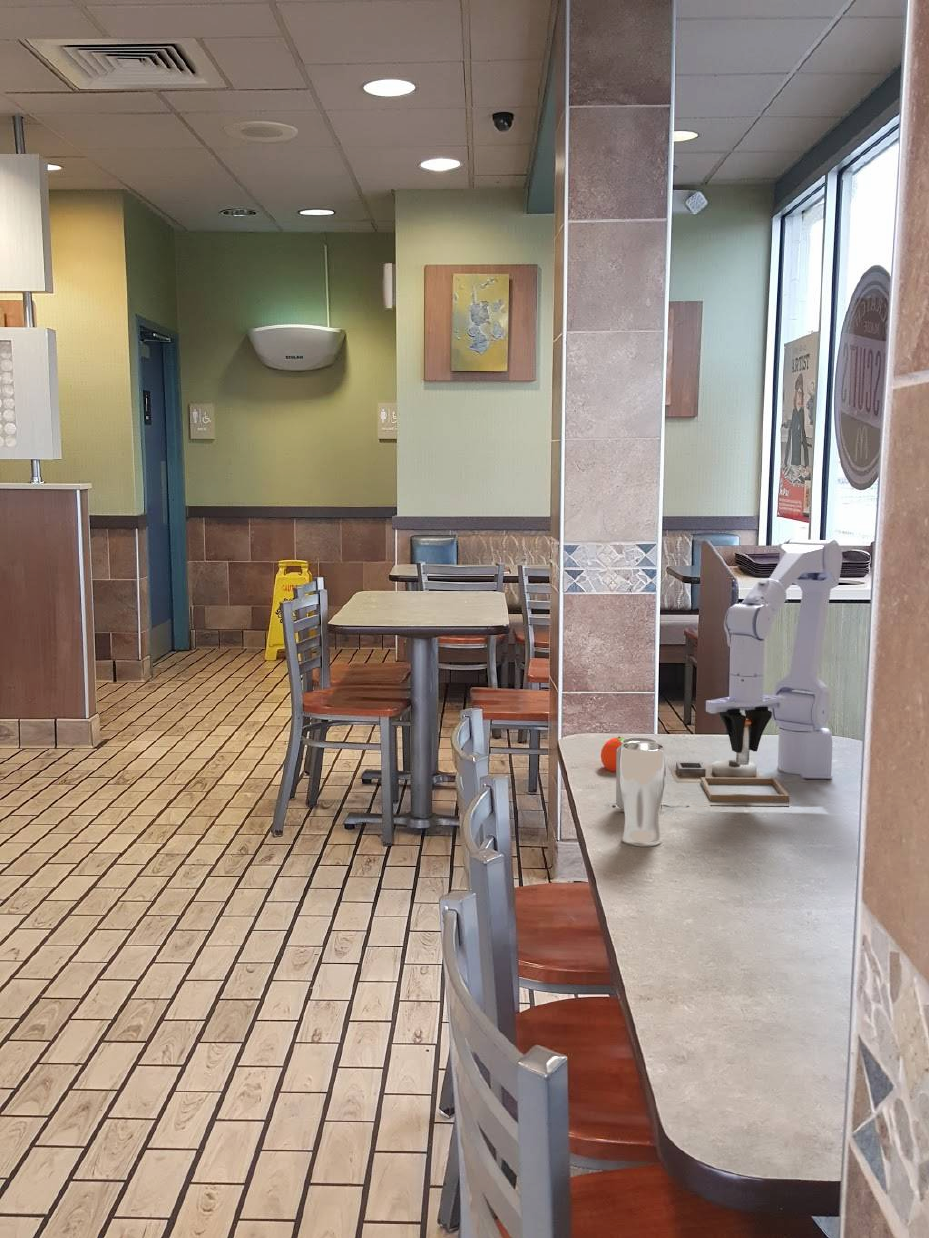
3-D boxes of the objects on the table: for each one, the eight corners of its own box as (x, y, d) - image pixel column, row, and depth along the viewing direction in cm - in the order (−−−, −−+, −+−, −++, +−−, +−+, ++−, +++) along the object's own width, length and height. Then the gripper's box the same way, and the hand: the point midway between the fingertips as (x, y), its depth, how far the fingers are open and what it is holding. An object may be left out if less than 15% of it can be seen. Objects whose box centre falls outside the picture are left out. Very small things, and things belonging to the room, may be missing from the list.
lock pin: (744, 760, 197) (747, 717, 196) (753, 764, 195) (756, 720, 194) (730, 761, 196) (733, 718, 195) (740, 765, 194) (743, 721, 193)
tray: (774, 788, 201) (775, 777, 201) (789, 807, 190) (789, 795, 190) (700, 788, 202) (700, 777, 202) (710, 806, 191) (710, 794, 191)
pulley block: (752, 770, 214) (752, 753, 213) (765, 788, 202) (765, 769, 201) (667, 769, 214) (667, 752, 214) (675, 787, 203) (675, 768, 202)
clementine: (648, 772, 213) (649, 736, 212) (633, 781, 207) (634, 743, 206) (610, 767, 217) (610, 731, 216) (594, 775, 211) (594, 738, 210)
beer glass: (667, 835, 176) (669, 742, 174) (660, 849, 169) (662, 752, 167) (623, 831, 178) (624, 739, 176) (614, 845, 171) (615, 749, 169)
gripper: (770, 667, 199) (768, 742, 201) (697, 672, 195) (695, 748, 197) (793, 674, 192) (790, 751, 194) (718, 679, 188) (716, 758, 190)
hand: (744, 750), depth 195 cm, fingers closed on lock pin, 2 cm apart
